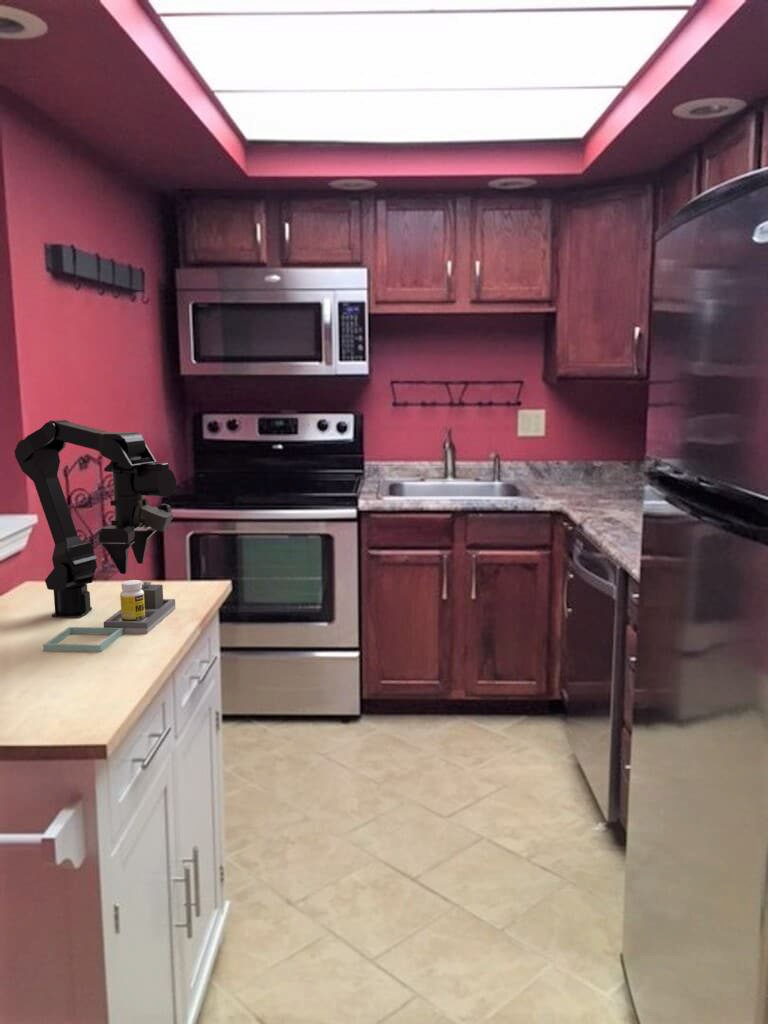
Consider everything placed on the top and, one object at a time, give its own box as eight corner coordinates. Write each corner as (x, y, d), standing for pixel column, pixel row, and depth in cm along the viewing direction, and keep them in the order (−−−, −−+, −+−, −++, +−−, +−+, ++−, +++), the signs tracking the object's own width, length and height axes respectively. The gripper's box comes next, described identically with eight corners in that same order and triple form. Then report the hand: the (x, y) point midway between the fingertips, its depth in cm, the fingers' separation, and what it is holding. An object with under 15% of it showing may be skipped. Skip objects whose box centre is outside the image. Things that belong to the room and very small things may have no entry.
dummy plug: (133, 612, 181) (131, 584, 180) (141, 606, 186) (140, 579, 185) (156, 613, 180) (154, 585, 179) (163, 606, 185) (162, 579, 184)
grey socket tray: (104, 632, 170) (103, 622, 170) (136, 608, 188) (135, 598, 188) (147, 633, 170) (147, 622, 169) (175, 608, 187) (175, 599, 187)
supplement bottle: (138, 625, 172) (136, 585, 170) (117, 624, 172) (115, 584, 171) (149, 618, 176) (147, 579, 175) (128, 617, 177) (126, 578, 176)
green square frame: (43, 650, 159) (43, 644, 159) (69, 632, 170) (68, 626, 170) (101, 651, 159) (100, 645, 158) (123, 633, 170) (122, 627, 169)
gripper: (150, 501, 162) (153, 580, 165) (181, 488, 180) (184, 559, 183) (94, 500, 163) (98, 579, 165) (131, 487, 181) (134, 558, 184)
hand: (132, 568), depth 174 cm, fingers open, 9 cm apart
